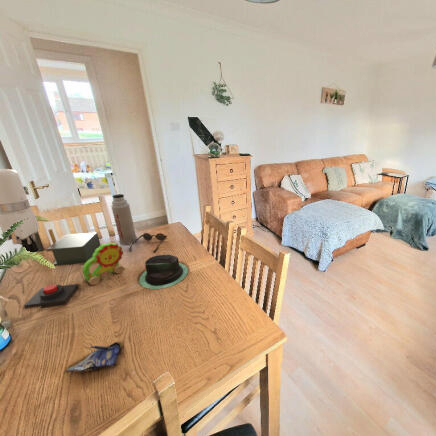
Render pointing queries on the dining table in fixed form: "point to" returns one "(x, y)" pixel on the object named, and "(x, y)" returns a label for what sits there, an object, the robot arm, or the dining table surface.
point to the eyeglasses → (149, 237)
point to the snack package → (98, 358)
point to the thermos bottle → (123, 220)
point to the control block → (53, 297)
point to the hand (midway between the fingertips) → (32, 252)
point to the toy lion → (103, 262)
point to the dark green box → (74, 248)
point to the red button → (50, 289)
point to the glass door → (52, 236)
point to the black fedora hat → (162, 272)
